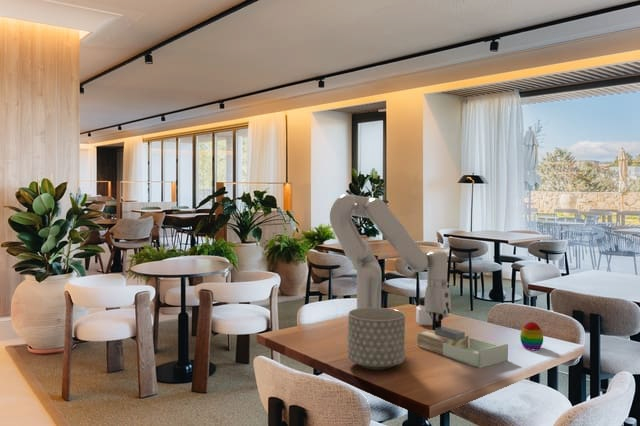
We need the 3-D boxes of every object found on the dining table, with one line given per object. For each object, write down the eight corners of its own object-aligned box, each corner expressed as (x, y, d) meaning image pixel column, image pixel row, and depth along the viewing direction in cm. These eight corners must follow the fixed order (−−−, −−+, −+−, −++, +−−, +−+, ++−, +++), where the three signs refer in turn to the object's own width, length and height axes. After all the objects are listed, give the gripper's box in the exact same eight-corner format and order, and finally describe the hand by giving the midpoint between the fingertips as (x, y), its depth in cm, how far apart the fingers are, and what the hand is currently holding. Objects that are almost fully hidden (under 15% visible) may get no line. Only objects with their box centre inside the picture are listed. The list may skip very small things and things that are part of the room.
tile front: (455, 340, 190) (455, 334, 190) (445, 337, 194) (445, 330, 194) (464, 338, 192) (464, 332, 192) (454, 335, 197) (454, 328, 196)
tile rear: (445, 337, 194) (445, 330, 194) (435, 334, 198) (435, 327, 198) (454, 335, 197) (454, 328, 196) (444, 332, 201) (444, 326, 201)
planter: (414, 373, 169) (414, 318, 168) (359, 378, 164) (360, 321, 163) (390, 355, 187) (390, 306, 187) (340, 360, 182) (340, 309, 181)
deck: (442, 354, 189) (442, 341, 189) (417, 345, 200) (417, 333, 200) (468, 348, 197) (468, 335, 196) (442, 340, 207) (443, 328, 207)
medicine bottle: (434, 325, 232) (434, 299, 231) (418, 325, 232) (419, 298, 231) (431, 321, 239) (431, 296, 238) (415, 321, 239) (416, 295, 238)
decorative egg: (521, 343, 204) (521, 318, 204) (543, 346, 201) (544, 320, 200) (519, 349, 197) (519, 323, 196) (542, 351, 193) (543, 325, 193)
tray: (479, 368, 174) (479, 350, 174) (442, 355, 188) (443, 339, 188) (507, 360, 182) (508, 343, 182) (470, 348, 196) (470, 333, 196)
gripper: (458, 285, 196) (458, 332, 197) (429, 279, 209) (429, 324, 209) (445, 287, 192) (444, 335, 193) (416, 281, 204) (416, 327, 205)
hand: (436, 330), depth 201 cm, fingers closed
